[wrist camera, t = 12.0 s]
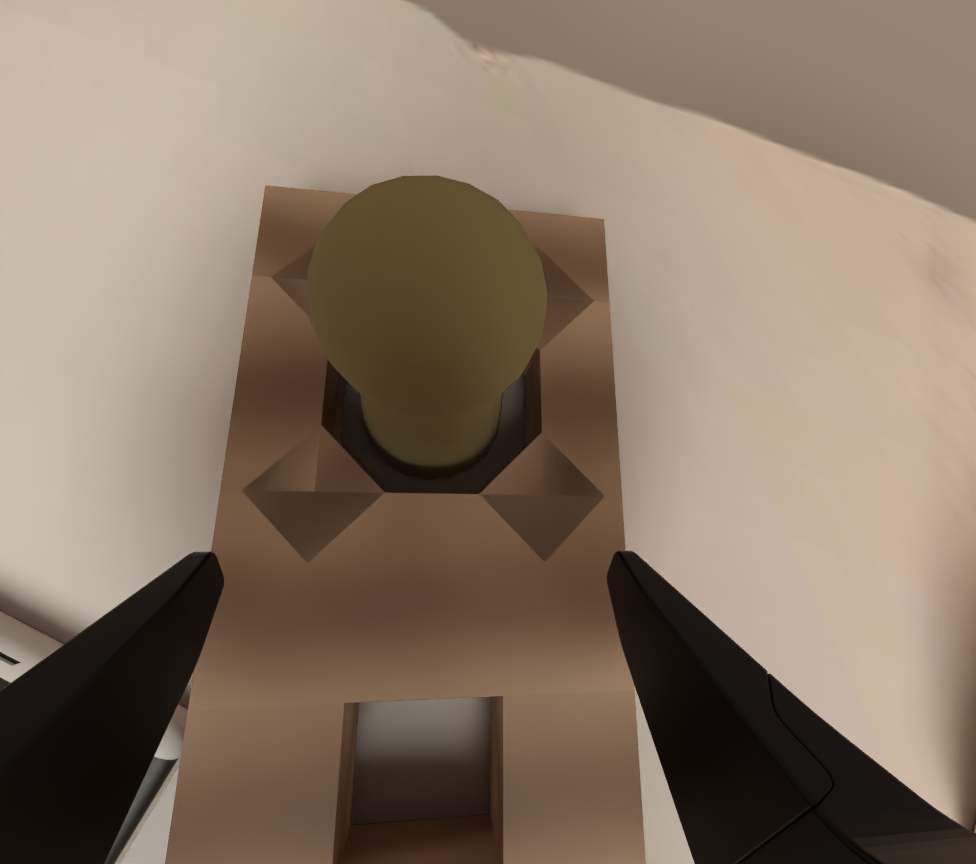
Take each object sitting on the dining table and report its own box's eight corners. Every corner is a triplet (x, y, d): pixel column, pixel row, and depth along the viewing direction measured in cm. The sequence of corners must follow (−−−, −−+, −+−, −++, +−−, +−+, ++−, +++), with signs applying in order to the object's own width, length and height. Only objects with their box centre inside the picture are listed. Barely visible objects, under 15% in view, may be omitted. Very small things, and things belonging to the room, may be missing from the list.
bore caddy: (291, 236, 19) (265, 185, 16) (580, 261, 21) (603, 219, 18) (192, 1005, 13) (123, 1142, 10) (614, 952, 15) (658, 1057, 12)
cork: (443, 508, 17) (458, 482, 7) (332, 421, 18) (178, 263, 7) (526, 402, 19) (644, 245, 8) (423, 323, 19) (409, 71, 9)
